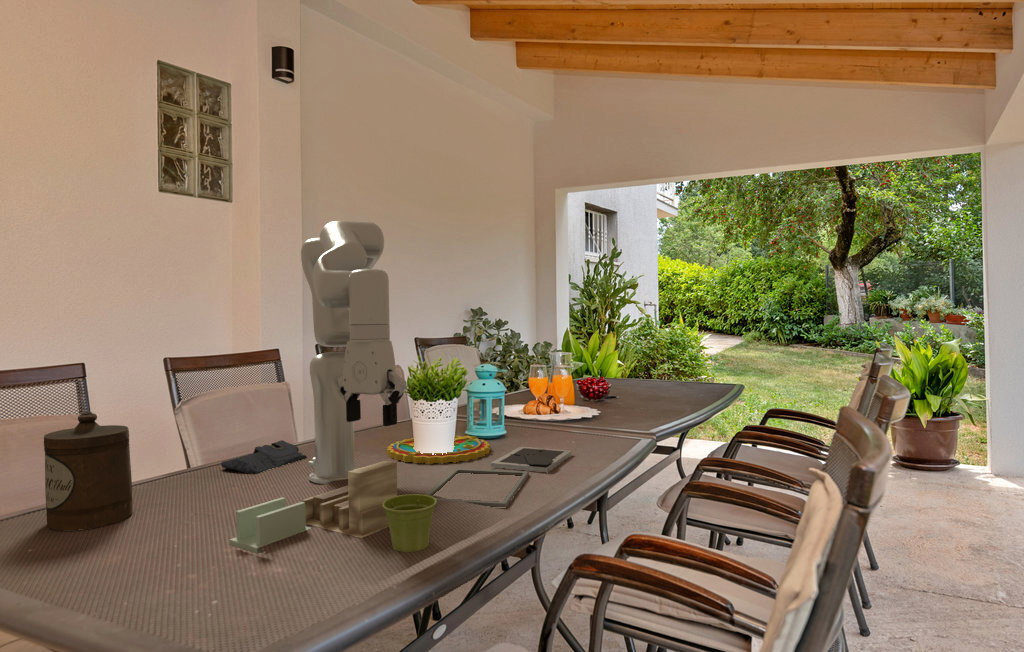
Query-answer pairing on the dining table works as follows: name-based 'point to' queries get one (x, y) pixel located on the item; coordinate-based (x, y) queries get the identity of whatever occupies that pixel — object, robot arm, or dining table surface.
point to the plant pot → (409, 521)
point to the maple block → (370, 488)
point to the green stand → (268, 524)
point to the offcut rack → (346, 517)
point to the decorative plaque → (462, 452)
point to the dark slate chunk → (265, 458)
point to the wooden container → (87, 475)
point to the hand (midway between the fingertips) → (371, 422)
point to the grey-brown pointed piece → (532, 459)
